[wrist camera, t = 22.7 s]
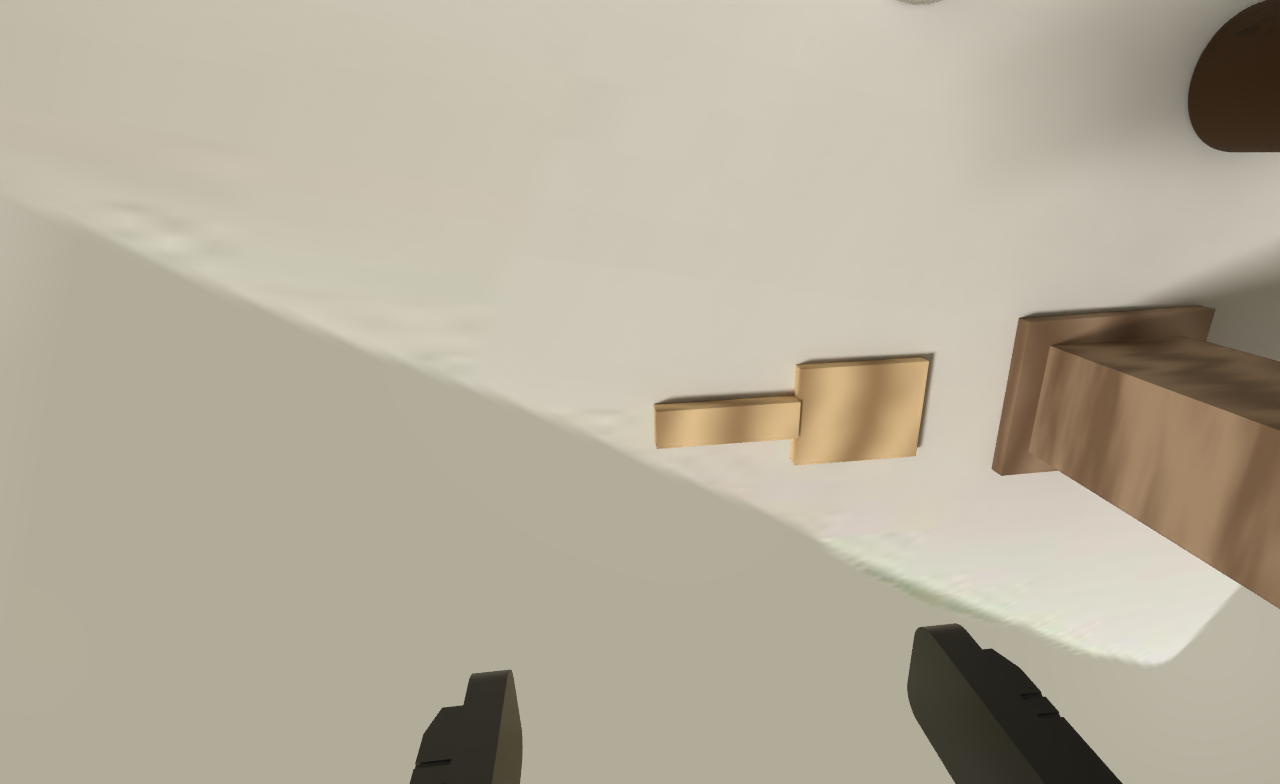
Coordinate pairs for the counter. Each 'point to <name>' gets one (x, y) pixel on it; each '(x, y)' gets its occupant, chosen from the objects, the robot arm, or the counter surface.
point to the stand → (1155, 429)
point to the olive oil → (1240, 83)
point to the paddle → (814, 414)
